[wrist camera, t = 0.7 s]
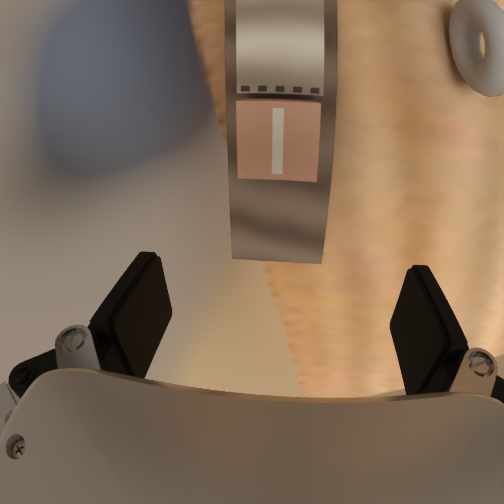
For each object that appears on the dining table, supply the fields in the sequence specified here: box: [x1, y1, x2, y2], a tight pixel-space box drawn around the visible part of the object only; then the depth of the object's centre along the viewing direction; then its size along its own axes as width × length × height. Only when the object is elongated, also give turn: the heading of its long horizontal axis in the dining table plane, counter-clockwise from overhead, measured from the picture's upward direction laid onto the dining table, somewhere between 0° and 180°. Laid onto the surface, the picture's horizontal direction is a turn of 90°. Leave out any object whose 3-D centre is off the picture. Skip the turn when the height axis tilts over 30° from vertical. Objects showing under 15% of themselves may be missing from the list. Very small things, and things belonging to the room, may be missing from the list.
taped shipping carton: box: [236, 98, 321, 182], centre depth 23 cm, size 6×6×6 cm
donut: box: [449, 0, 504, 97], centre depth 15 cm, size 10×4×10 cm, turn 11°
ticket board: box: [225, 0, 337, 264], centre depth 23 cm, size 36×10×4 cm, turn 1°
